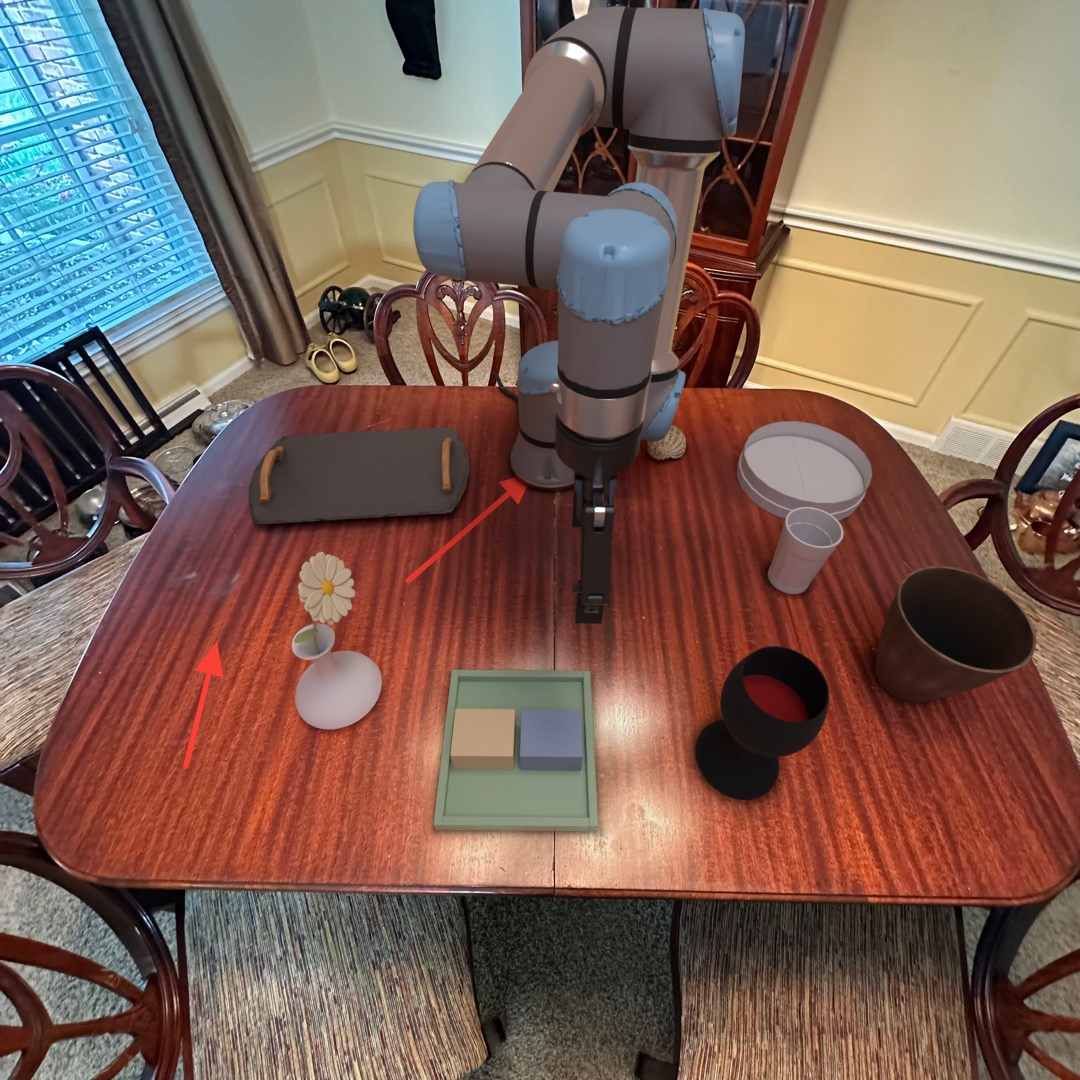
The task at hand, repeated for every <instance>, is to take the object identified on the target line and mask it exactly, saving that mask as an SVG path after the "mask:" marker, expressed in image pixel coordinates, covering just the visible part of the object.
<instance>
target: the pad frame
mask: <svg viewBox="0 0 1080 1080" xmlns="http://www.w3.org/2000/svg"><path fill="white" fill-rule="evenodd" d="M591 675H592V673H591V670H546V669H545V670H541V669H539V670H535V669H533V670H531V669H528V670H527V669H518V670H517V669H451V673H450V681H449V690H448V699H447V707H446V715H445V724H444V731H443V732H444V733H443V741H442V748H441V757H440V766H439V773H438V783H437V791H436V799H435V807H434V817H433V827H434V829H435V830H436V831H508V832H509V831H511V832H512V831H514V832H515V831H517V832H598V830H599V815H598V814H599V812H598V810H599V809H598V792H597V775H596V774H597V773H596V753H595V752H596V751H595V734H594V713H593V699H592V698H593V695H592V694H593V693H592V676H591ZM455 709H515V715H516V743H515V769H514V770H455V769H454V766H453V763H452V760H451V756H450V754H451V744H452V735H453V726H454V717H455ZM521 709H552V710H581V718H582V745H583V760H582V767H581V771H552V770H521V766H520V736H521Z"/></svg>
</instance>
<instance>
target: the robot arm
mask: <svg viewBox="0 0 1080 1080" xmlns="http://www.w3.org/2000/svg"><path fill="white" fill-rule="evenodd" d="M745 26H746V25H745V23H744V21H743V19H742V17H740V15H739V14H737V13H735V12H730V11H722V10H715V9H709V8H707V7H703V8H675V7H674V8H671V7H670V8H669V7H667V8H665V7H630V6H624V5H622V6H619V5H614V6H609V7H602V8H600V9H596V10H594V11H591V12H588V13H586V14H584V15H581V16H579V17H578V18H576V19H573V20H572V21H569V22H568V23H567V24H565V25H564V26H563V27H561V28H560V29H558V30H557V31H556V32H554V33H553V34H552V35H551V36H550V37H548V39H546V41H545V42H543V44H542V45H541V46H540V47H539V48H538V49H537V51H536V52H535V53H534V55H533V57H531V59H530V61H529V63H528V66H527V68H526V70H525V73H524V74H525V75H524V79H523V90H522V92H521V93H520V95H519V96H518V98H517V99H516V100H515V103H514V104H513V106H511V108H510V111H508V113H507V115H506V117H505V118H504V120H503V121H502V123H501V124H500V126H499V127H498V129H497V131H496V132H495V134H494V136H493V137H492V139H491V140H490V141H489V143H488V145H487V147H486V148H485V150H484V151H483V153H482V154H481V156H480V158H479V159H478V160H477V162H476V164H475V165H474V167H473V168H472V170H471V171H470V173H469V174H468V175H467V177H466V179H465V180H463V182H458V181H455V180H454V179H449V180H447V181H431V182H427V183H426V184H425V185H424V186H422V188H421V189H420V191H419V192H418V195H417V197H416V202H415V204H414V205H415V206H414V210H413V219H412V220H413V225H412V227H413V229H412V231H413V238H414V244H415V248H416V254H417V257H418V259H419V261H420V263H421V265H422V266H423V268H424V269H425V270H426V271H428V273H431V274H433V275H435V276H440V277H441V276H442V277H445V278H446V277H447V278H452V279H458V280H461V281H462V282H479V283H490V284H498V285H509V286H518V287H526V288H527V287H529V288H535V289H542V290H551V291H557V293H558V306H557V307H558V308H557V309H558V311H557V312H558V313H557V314H558V315H557V318H558V319H557V326H558V327H557V340H551V341H547V342H543V343H540V344H539V345H537V346H534V347H532V348H531V349H529V350H528V351H527V352H526V353H525V354H524V355H522V357H521V358H520V361H519V362H518V367H517V381H516V388H517V394H516V393H514V392H512V391H510V390H509V389H507V388H506V387H505V386H504V384H503V382H502V379H501V377H500V374H499V373H498V372H496V371H494V372H493V373H492V374H491V376H492V377H493V378H495V382H496V384H497V386H498V387H499V389H500V390H501V391H502V392H503V393H504V394H505V395H506V396H509V397H510V398H512V399H514V401H516V403H517V414H518V426H519V427H518V428H519V430H518V433H517V436H516V439H515V443H514V445H512V449H511V452H510V469H511V471H512V474H513V475H514V477H515V479H517V481H519V482H520V483H521V484H523V486H526V487H528V488H530V489H533V490H536V491H539V492H540V491H541V492H547V493H555V492H565V491H568V490H571V489H573V496H572V497H573V498H572V501H573V502H572V515H571V516H572V519H571V528H580V578H579V579H578V580H577V584H573V585H571V586H572V589H571V590H572V594H576V603H575V604H576V606H575V618H574V619H575V624H576V625H578V624H580V625H581V624H582V625H583V624H585V625H586V624H589V625H598V624H599V625H601V624H603V616H604V608H605V605H606V606H608V605H609V604H610V601H611V595H610V586H611V585H610V584H611V583H610V582H611V566H612V565H611V564H612V546H613V530H614V529H613V528H614V521H615V520H614V519H615V515H616V512H617V511H616V508H615V494H616V493H617V491H618V474H619V473H621V472H623V471H625V470H627V469H628V468H630V467H631V466H632V465H633V463H634V462H635V461H636V459H638V456H639V452H640V446H641V441H647V442H648V441H660V440H662V439H663V438H665V436H666V435H667V433H668V432H669V429H670V427H671V425H673V422H674V419H675V416H676V413H677V410H678V406H679V404H680V400H681V396H682V393H683V391H684V386H685V383H686V376H687V375H686V373H685V372H684V371H682V370H681V369H679V364H680V358H679V357H678V356H677V354H676V353H675V352H674V351H673V349H672V347H673V342H674V339H675V338H674V337H675V331H676V327H677V321H678V316H679V315H678V314H679V310H680V304H681V299H682V294H683V288H684V282H685V276H686V271H687V266H688V261H689V256H690V250H691V244H692V239H693V233H694V227H695V223H696V217H697V211H698V206H699V200H700V195H701V189H702V184H703V180H704V179H703V178H704V174H705V169H706V168H707V167H708V166H709V164H711V163H712V162H713V161H714V160H715V159H716V158H717V157H718V156H719V155H720V154H721V149H722V143H723V138H725V139H729V138H732V137H734V136H735V135H736V133H737V126H738V117H739V116H738V115H739V107H740V98H741V97H740V96H741V87H742V78H743V77H742V75H743V64H744V51H745V41H746V27H745ZM592 128H611V129H612V128H613V129H618V130H619V129H620V130H628V131H629V134H628V135H629V136H628V142H627V148H628V150H629V151H630V153H631V154H632V156H633V157H634V159H635V161H636V164H637V165H636V166H637V168H636V175H635V181H634V182H629V183H625V184H624V185H619V186H618V187H617V188H615V189H613V190H612V191H610V192H609V193H607V195H593V194H585V193H573V192H572V193H570V192H561V191H555V190H556V186H557V185H558V183H559V181H560V179H561V176H562V175H563V172H564V171H565V168H566V166H567V164H568V162H569V160H570V159H571V156H572V154H573V152H574V150H575V147H576V145H577V144H578V142H579V139H580V138H581V136H583V135H585V134H586V133H587V132H589V131H590V130H591V129H592ZM501 387H505V388H501Z"/></svg>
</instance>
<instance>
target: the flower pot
mask: <svg viewBox="0 0 1080 1080" xmlns="http://www.w3.org/2000/svg"><path fill="white" fill-rule="evenodd" d="M1036 647H1037V634H1036V630H1035V627H1034V624H1033V623H1032V620H1031V618H1030V617H1029V615H1028V613H1027V612H1026V611H1025V609H1024V608H1023V607H1022V606H1021V604H1020V603H1019V602H1018V601H1017V600H1016V599H1015V598H1014V597H1013V596H1011V595H1010V594H1009V593H1008V592H1007V591H1006V590H1004V589H1003V588H1002V587H1001V586H999V585H997V584H996V583H994V582H992V581H991V580H990V579H989V580H988V579H987V578H985V577H983V576H981V575H979V574H976V573H974V572H971V571H968V570H965V569H961V568H958V567H952V566H944V565H942V566H941V565H935V566H925V567H921V568H919V569H916V570H914V571H912V572H910V573H909V574H907V576H905V577H904V579H902V581H901V583H900V585H899V587H898V589H897V591H896V593H895V595H894V597H893V599H892V601H891V603H890V606H889V608H888V611H887V613H886V616H885V619H884V621H883V625H882V628H881V632H880V635H879V639H878V644H877V650H876V658H875V676H876V678H877V681H878V683H879V684H880V686H881V687H882V689H884V690H885V691H886V692H887V694H889V695H891V696H892V697H894V698H895V699H897V700H899V701H902V702H904V703H905V702H906V703H909V704H920V703H927V702H932V701H938V700H943V699H946V698H947V699H948V698H951V697H954V696H957V695H960V694H964V693H966V692H970V691H972V690H975V689H979V688H980V687H983V686H985V685H988V684H990V683H992V682H994V681H997V680H999V679H1000V678H1003V677H1005V676H1007V675H1008V674H1011V673H1013V672H1014V671H1016V670H1019V669H1021V668H1022V667H1023V666H1025V665H1026V664H1027V663H1028V662H1030V660H1032V658H1033V656H1034V655H1035V652H1036Z"/></svg>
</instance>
